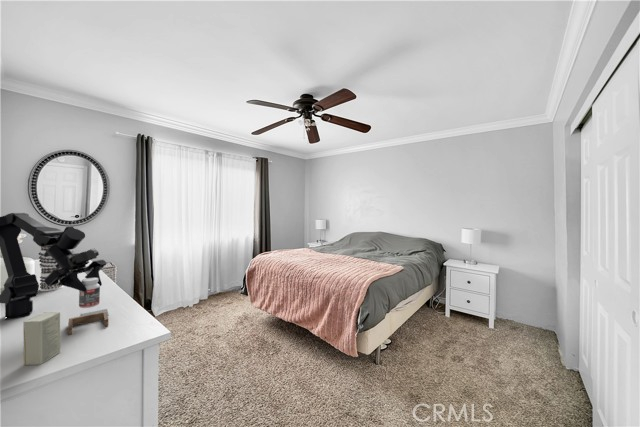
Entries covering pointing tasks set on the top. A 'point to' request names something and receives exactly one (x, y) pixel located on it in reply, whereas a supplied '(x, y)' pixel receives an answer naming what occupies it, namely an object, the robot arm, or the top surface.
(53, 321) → the skincare box
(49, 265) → the decorative candle
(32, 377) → the top surface
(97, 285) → the pill bottle
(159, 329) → the top surface
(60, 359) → the top surface
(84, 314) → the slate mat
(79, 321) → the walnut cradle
